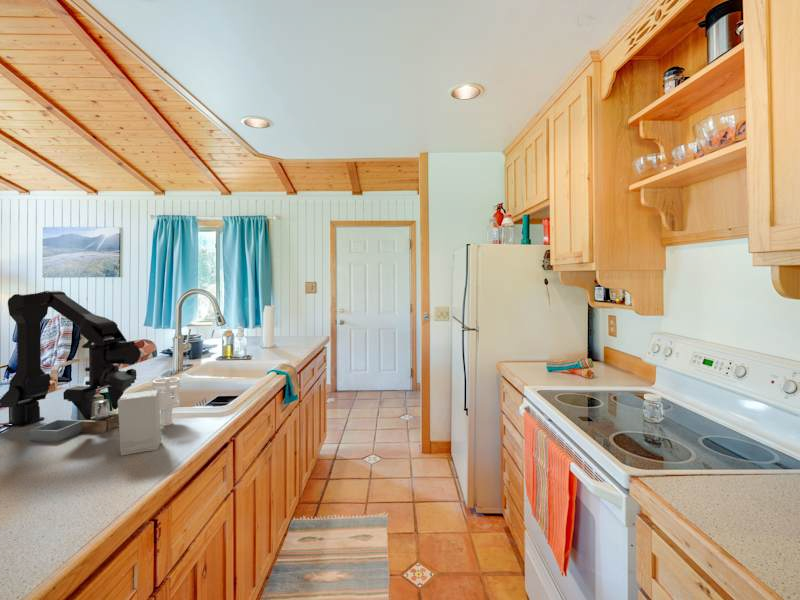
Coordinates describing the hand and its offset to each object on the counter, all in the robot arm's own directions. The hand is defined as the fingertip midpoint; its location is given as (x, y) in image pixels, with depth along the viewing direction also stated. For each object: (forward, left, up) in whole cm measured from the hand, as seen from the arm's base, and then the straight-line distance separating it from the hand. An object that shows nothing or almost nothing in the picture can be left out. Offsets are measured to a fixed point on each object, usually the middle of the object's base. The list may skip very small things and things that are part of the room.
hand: (102, 414), depth 108 cm
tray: (-7, -7, -4) cm, 11 cm away
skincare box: (+22, -13, -4) cm, 25 cm away
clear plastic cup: (+17, +4, -4) cm, 18 cm away
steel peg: (0, 0, -4) cm, 4 cm away
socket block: (0, 0, -4) cm, 4 cm away
